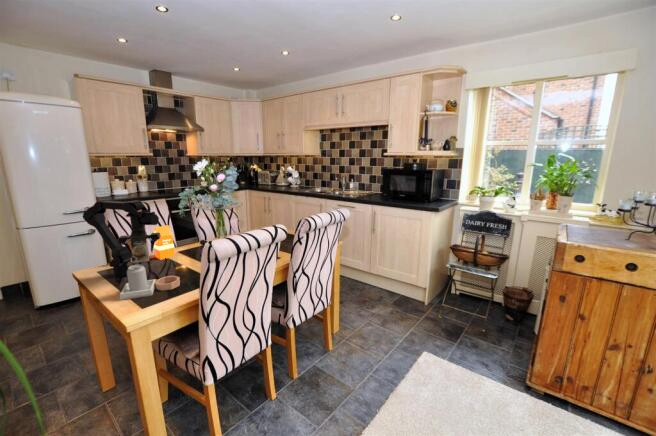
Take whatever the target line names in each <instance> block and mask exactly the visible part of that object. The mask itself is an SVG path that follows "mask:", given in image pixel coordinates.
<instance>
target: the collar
mask: <svg viewBox="0 0 656 436" xmlns="http://www.w3.org/2000/svg"><path fill="white" fill-rule="evenodd" d="M180 279H181V278H180V276H177V275H168V276H162V277H160V278H159V279H156V282H155V286H156V287H155V290H158V291H169V290H174V289H175V288H178V287H180V285H181V284H180V283H181V280H180Z"/></svg>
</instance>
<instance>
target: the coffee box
mask: <svg viewBox="0 0 656 436" xmlns="http://www.w3.org/2000/svg"><path fill="white" fill-rule="evenodd" d="M129 237H130V235H129ZM129 241H131V240H129ZM131 246H132V250H133V255H132V258H131V263H132V264H140V263H145V262H146V263H147V262H149V261H150V251H149V244H148V239H142V241H141V242H131Z"/></svg>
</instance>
